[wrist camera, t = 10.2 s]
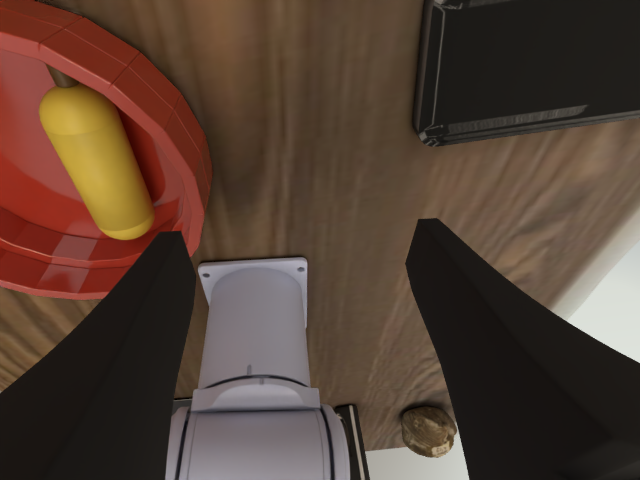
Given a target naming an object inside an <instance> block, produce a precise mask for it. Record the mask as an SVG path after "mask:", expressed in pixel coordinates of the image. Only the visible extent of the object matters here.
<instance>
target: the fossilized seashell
mask: <svg viewBox="0 0 640 480" xmlns="http://www.w3.org/2000/svg"><path fill="white" fill-rule="evenodd" d="M401 425H402V437H403V441H404V443H405V445H406V446H407V447H408V448H409V449H411V450H412V451H414V452H415V453H417V454H419V455H423V456H426V457H436V458H437V457H441V456H443V455H445V454H446V453H448V452H449V451H450V449H451V447H452V446H453V442H454V435H455V434H456V433H457V428H456V426H455V424H454V422H453V420H452V419H451V417H450V416H449V415H448V414H447V413H446V412H445V411H443V410H441V409H438V408H435V407H428V406H423V407H418V408H415V409H412V410H409V411H407V412H405V414H404V415H403V417H402V422H401Z"/></svg>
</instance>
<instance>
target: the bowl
mask: <svg viewBox="0 0 640 480" xmlns="http://www.w3.org/2000/svg"><path fill="white" fill-rule="evenodd" d="M45 63H46V64H48V65H50V66H51V67H53V68H55V69H57V70H59V71H61V72H63V73H64V74H66V75H68V76H70V77H72V78H74V79H76V80H77V81H79V82H80V83H82V84H85V85H87V86H89V87H90V88H92V89H94V90H96V91H98V92H100V93H102V94H103V95H105V96H106V97H107V98H108V99H110V100H111V101H112V103H113V104H114V105H115V107H116V109H117V111H118V113H119V116H120V119H121V121H122V124H123V127H124V129H125V132H126V134H127V137H128V140H129V142H130V145H131V148H132V150H133V153H134V156H135V158H136V161H137V163H138V166H139V169H140V171H141V174H142V177H143V179H144V182H145V185H146V187H147V190H148V192H149V195H150V198H151V200H152V203H153V206H154V210H155V218H154V221H153V224H152V226H151V228H150V229H149V230H148V231H147V232H146V233H145V234H143V235H142V236H140V237H138V238H135V239H130V240H119V239H115V238H112V237H110V236H108V235H106V234H105V233H104V232H102V231H101V230H100V229H99V228H98V226H97V225H96V223H95V221H94V220H93V218H92V216H91V214H90V212H89V210H88V209H87V207H86V205H85V203H84V201H83V200H82V198H81V196H80V194H79V192H78V190H77V189H76V187H75V185H74V183H73V181H72V180H71V178H70V176H69V174H68V172H67V170H66V169H65V167H64V165H63V163H62V161H61V159H60V158H59V156H58V154H57V152H56V150H55V149H54V147H53V145H52V143H51V141H50V139H49V138H48V136H47V134H46V132H45V130H44V128H43V126H42V124H41V121H40V117H39V105H40V102H41V99H42V97H43V96H44V95H45V93H46V92H47V91H48V90H50V89H51V88H52V87H54V86H56V85H55V83H54V81H53V79H52V77H51V75H50V73H49V71H48V69H47V67H46V64H45ZM212 176H213V168H212V164H211V159H210V154H209V149H208V145H207V140H206V136H205V134H204V132H203V130H202V128H201V127H200V125H199V123H198V121H197V120H196V118H195V116H194V115H193V113H192V111H191V109H190V108H189V106H188V104H187V102H186V101H185V99H184V97H183V95H182V94H181V92H180V91H179V90H178V89H177V88H176V87H175V86H174V85H173V84H172V83H171V82H170V81H169V80H168V79H167V78H166V77H165V76H164V75H163V74H162V73H161V72H160V71H159V70H158V69H157V68H156V67H155V66H154V65H153V64H152V63H151V62H150V61H149V60H148V59H147V58H146V57H145V56H144V55H143V54H142V53H140V52H139V51H138V50H136V49H135V48H133V47H132V46H130V45H128V44H127V43H125V42H124V41H122V40H120V39H119V38H117V37H116V36H114V35H112V34H111V33H109V32H108V31H106V30H104V29H103V28H101V27H100V26H98V25H96V24H95V23H93V22H91V21H90V20H88V19H87V18H85V17H82V16H80V15H77V14H74V13H71V12H68V11H65V10H62V9H59V8H55V7H52V6H49V5H46V4H43V3H40V2H37V1H34V0H0V287H4V288H8V289H12V290H16V291H20V292H24V293H28V294H32V295H36V296H45V297H55V298H65V299H74V300H88V299H103V298H104V297H105V296H106V295H107V294H108V293H109V292H110V291H111V290H112V288H113V287H114V286H115V285H116V284H117V283H118V281H119V280H120V279H121V278H122V277H123V275H124V274H125V273H126V272H127V271H128V270H129V268H130V267H131V266H132V265H133V263H134V262H135V261H136V260H137V259H138V257H139V256H140V255H141V254H142V252H143V251H144V250H145V249H146V247H147V246H148V245H149V244H150V242H151V241H152V240H153V239H154V237H155V236H156V235H157V234H158V233H159V232H164V231H181V232H182V235H183V238H184V241H185V244H186V247H187V250H188V253H189V256H190V258H191V257H192V255H193V254H194V252H195V251H196V250H197V248H198V247H199V244H200V240H201V235H202V230H203V225H204V220H205V215H206V210H207V205H208V199H209V194H210V188H211V182H212Z"/></svg>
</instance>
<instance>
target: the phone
mask: <svg viewBox="0 0 640 480" xmlns="http://www.w3.org/2000/svg"><path fill="white" fill-rule="evenodd" d="M636 118H640V0H425V3H424V9H423V19H422V29H421V39H420V50H419V60H418V70H417V80H416V91H415V101H414V111H413V128H414V130H415V132H416V134H417V135H418V137H419V138H420V140H421V141H422V142H423V143H424V144H425V145H428V146H444V145H451V144H458V143H465V142H472V141H479V140H487V139H494V138H501V137H508V136H515V135H522V134H529V133H536V132H543V131H551V130H558V129H565V128H572V127H579V126H586V125H593V124H600V123H608V122H615V121H622V120H629V119H636Z"/></svg>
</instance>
